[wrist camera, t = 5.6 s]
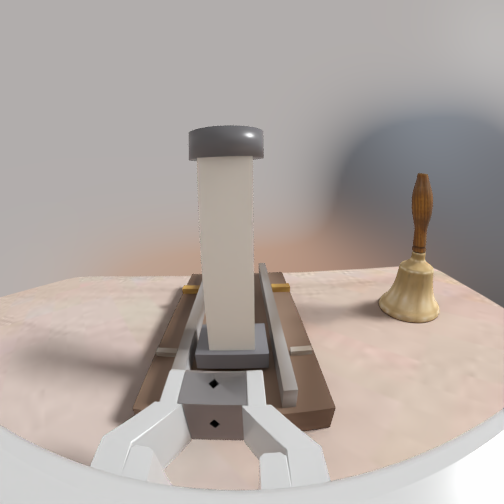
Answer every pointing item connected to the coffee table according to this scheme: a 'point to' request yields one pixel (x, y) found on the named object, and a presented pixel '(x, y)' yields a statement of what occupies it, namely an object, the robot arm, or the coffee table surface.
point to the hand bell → (414, 267)
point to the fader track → (275, 377)
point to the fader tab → (228, 246)
